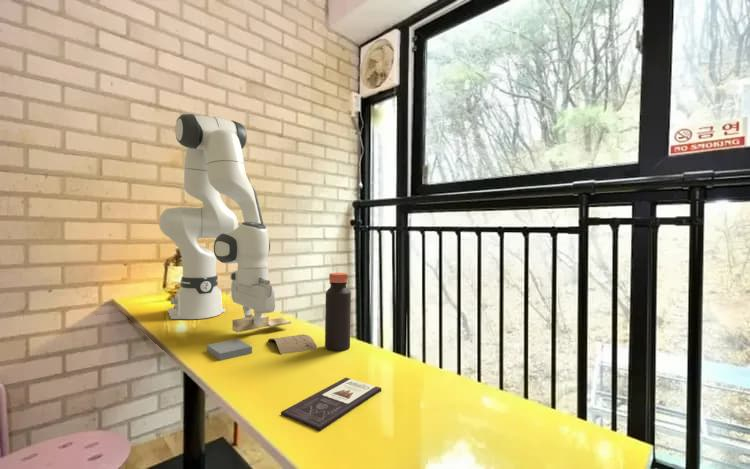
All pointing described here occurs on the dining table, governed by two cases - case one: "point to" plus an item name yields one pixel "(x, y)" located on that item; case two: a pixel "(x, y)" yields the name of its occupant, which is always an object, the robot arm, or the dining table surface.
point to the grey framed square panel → (229, 349)
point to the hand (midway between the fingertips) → (252, 322)
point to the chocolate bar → (331, 403)
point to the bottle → (337, 313)
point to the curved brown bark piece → (294, 343)
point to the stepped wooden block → (247, 324)
